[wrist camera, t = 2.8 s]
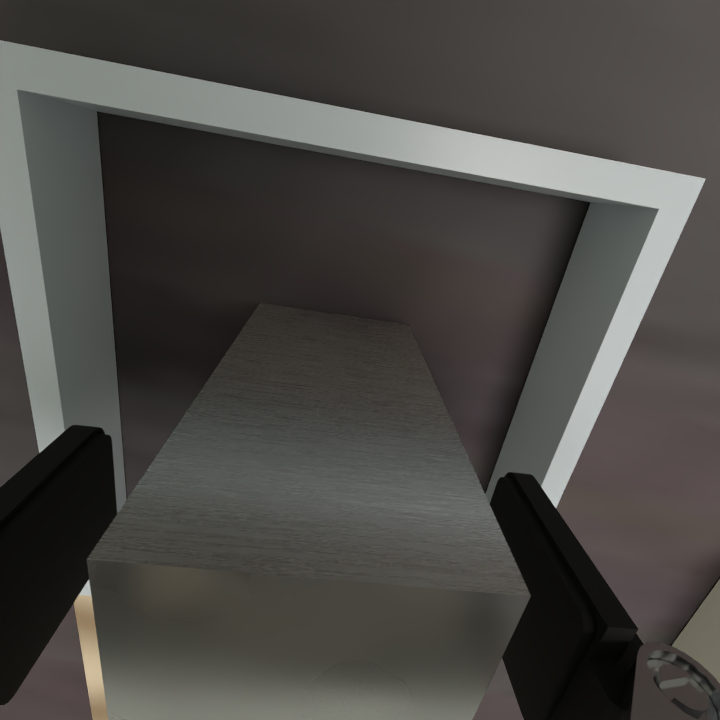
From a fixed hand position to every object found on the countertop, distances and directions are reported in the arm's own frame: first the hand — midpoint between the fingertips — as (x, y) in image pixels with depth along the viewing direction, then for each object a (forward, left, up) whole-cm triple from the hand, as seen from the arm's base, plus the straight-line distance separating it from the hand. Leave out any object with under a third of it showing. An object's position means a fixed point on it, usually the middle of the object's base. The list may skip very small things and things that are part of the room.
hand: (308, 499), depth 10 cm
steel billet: (-1, 0, -5) cm, 5 cm away
